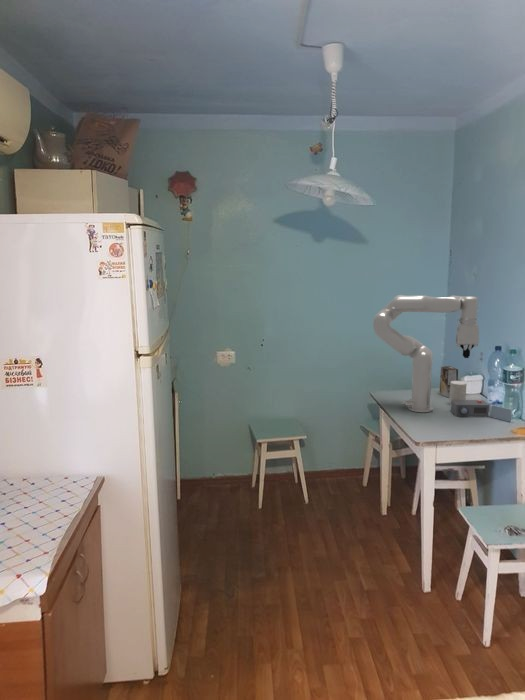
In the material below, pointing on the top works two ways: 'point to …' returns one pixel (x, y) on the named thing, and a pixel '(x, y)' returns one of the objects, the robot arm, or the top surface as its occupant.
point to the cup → (457, 390)
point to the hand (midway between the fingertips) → (466, 357)
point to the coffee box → (447, 379)
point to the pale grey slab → (500, 412)
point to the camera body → (470, 408)
